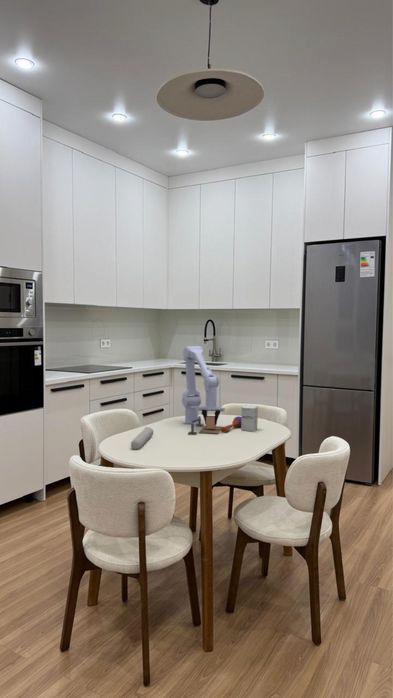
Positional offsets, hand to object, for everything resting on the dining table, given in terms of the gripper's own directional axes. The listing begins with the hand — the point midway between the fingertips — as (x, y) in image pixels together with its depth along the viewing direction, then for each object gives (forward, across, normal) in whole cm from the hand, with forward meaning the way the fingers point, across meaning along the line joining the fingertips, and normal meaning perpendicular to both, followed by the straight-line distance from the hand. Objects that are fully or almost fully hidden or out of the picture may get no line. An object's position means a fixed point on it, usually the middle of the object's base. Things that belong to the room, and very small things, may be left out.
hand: (210, 424), depth 252 cm
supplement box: (+3, +20, +6) cm, 21 cm away
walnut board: (+3, 0, 0) cm, 3 cm away
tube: (+4, -28, -32) cm, 43 cm away
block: (+2, 0, 0) cm, 2 cm away
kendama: (+4, +11, +6) cm, 13 cm away
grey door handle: (+3, -8, 0) cm, 9 cm away
